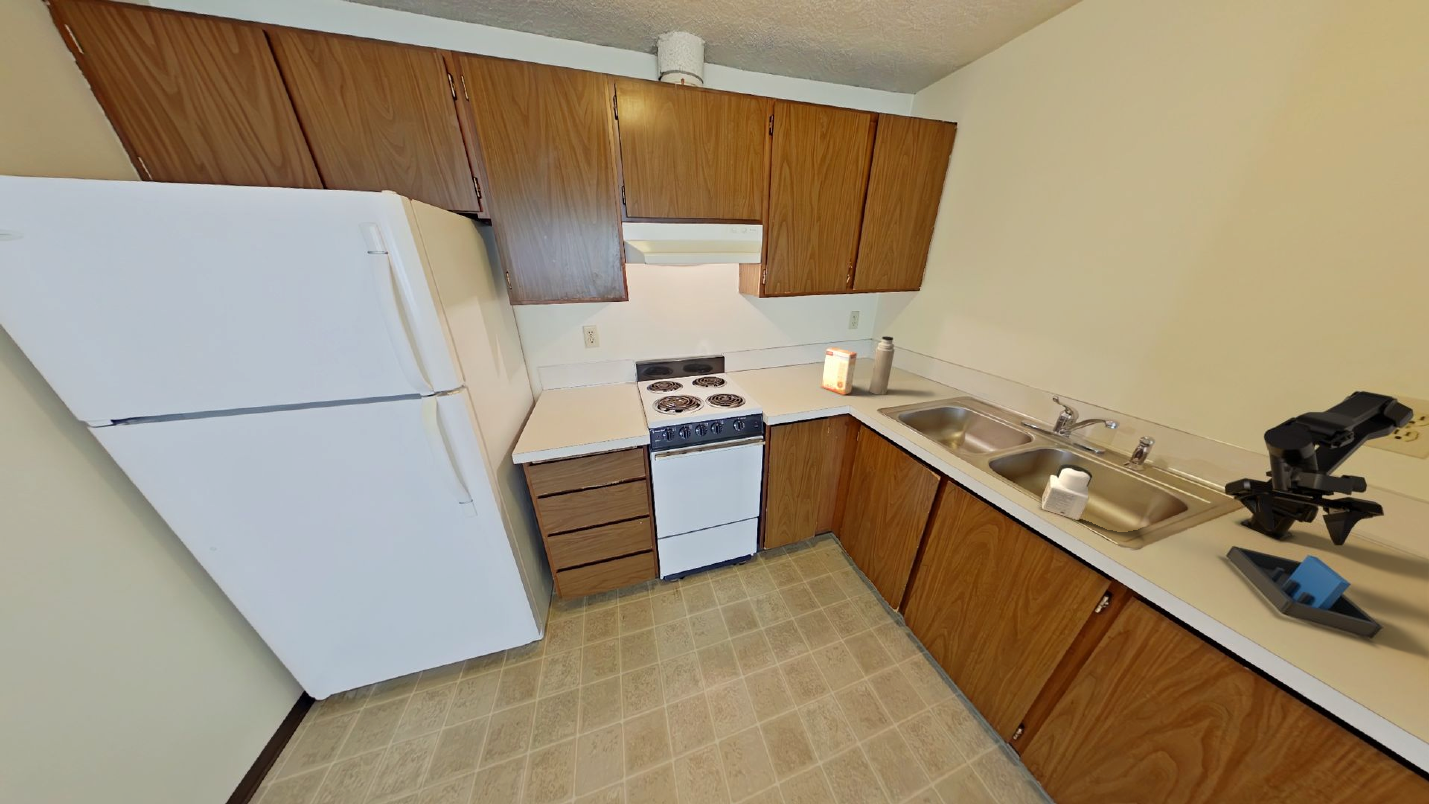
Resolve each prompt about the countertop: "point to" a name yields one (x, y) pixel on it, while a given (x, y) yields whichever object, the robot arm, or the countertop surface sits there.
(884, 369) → the thermos bottle
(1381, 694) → the countertop surface
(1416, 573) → the countertop surface
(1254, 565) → the dish rack
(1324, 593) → the blue rectangular block
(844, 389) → the cracker box
